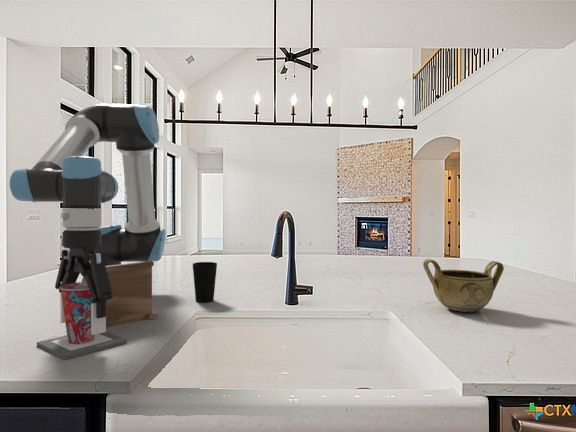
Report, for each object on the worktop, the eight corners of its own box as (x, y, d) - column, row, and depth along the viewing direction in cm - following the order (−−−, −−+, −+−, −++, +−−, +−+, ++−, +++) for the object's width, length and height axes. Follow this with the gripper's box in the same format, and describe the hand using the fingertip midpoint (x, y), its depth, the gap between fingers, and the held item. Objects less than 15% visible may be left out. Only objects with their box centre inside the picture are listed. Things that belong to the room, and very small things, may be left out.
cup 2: (211, 304, 128) (211, 265, 128) (188, 302, 130) (188, 264, 130) (220, 298, 136) (220, 262, 136) (198, 297, 137) (198, 261, 137)
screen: (76, 329, 101) (76, 267, 100) (145, 314, 116) (145, 260, 115) (89, 334, 97) (89, 270, 97) (158, 317, 112) (158, 262, 112)
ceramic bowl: (432, 316, 115) (432, 262, 115) (416, 302, 132) (416, 255, 132) (514, 318, 114) (515, 263, 114) (487, 304, 131) (488, 256, 131)
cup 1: (99, 345, 87) (100, 287, 86) (54, 348, 84) (54, 289, 84) (105, 332, 96) (106, 280, 95) (65, 334, 93) (65, 281, 93)
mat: (36, 345, 88) (36, 341, 88) (96, 331, 99) (96, 328, 99) (65, 359, 81) (65, 355, 81) (126, 342, 91) (126, 338, 91)
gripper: (38, 227, 94) (38, 320, 94) (94, 232, 79) (94, 343, 79) (72, 226, 100) (72, 314, 100) (130, 230, 85) (130, 333, 85)
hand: (82, 327), depth 90 cm, fingers open, 13 cm apart
